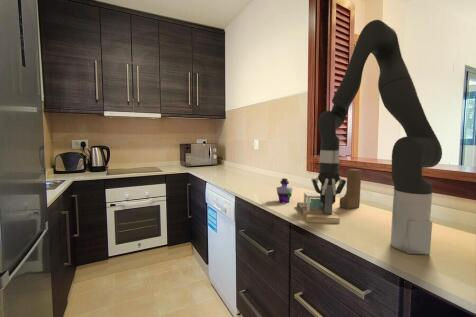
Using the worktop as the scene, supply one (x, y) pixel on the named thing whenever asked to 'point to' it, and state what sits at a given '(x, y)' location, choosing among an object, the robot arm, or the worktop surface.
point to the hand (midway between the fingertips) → (327, 203)
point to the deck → (317, 215)
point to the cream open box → (307, 196)
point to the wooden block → (352, 190)
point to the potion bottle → (284, 191)
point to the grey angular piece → (326, 201)
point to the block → (315, 203)
